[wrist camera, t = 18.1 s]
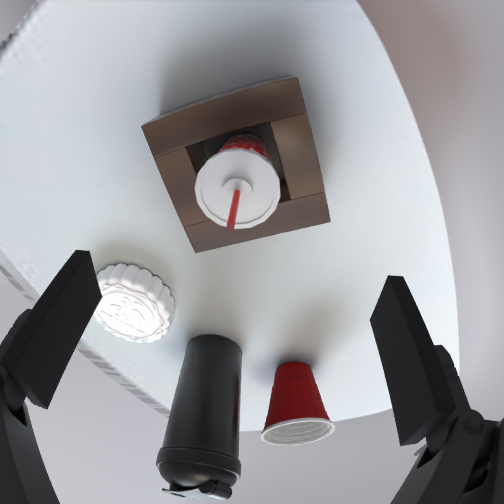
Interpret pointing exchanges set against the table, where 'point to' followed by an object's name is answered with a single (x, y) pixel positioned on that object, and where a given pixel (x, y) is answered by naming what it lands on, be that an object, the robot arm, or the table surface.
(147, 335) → the mooncake
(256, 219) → the beverage cup
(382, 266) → the table surface
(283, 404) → the plastic cup
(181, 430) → the water bottle
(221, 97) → the holder
